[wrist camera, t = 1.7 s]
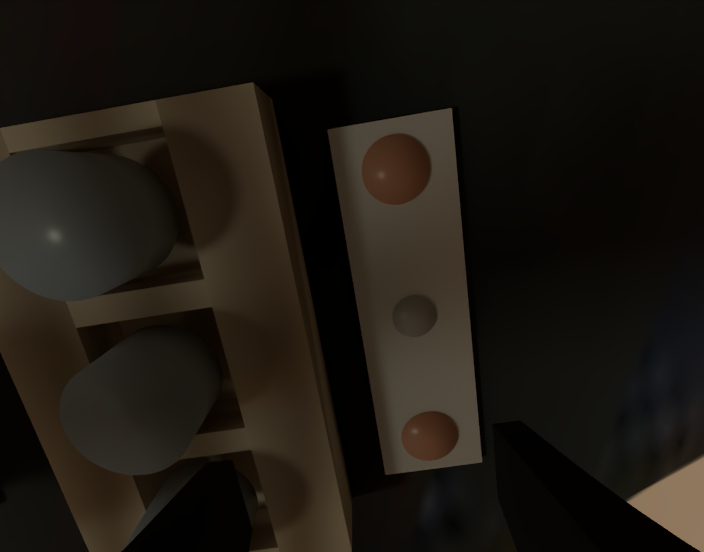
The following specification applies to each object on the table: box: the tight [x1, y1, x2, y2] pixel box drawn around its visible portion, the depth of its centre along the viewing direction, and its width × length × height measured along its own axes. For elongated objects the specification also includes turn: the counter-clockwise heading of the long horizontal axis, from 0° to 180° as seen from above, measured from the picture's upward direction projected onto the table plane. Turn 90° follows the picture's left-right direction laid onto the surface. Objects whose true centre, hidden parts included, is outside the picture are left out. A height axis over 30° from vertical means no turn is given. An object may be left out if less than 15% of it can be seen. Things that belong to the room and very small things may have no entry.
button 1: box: [124, 461, 258, 548], centre depth 16 cm, size 4×4×3 cm
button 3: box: [0, 150, 178, 301], centre depth 12 cm, size 4×4×3 cm
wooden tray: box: [0, 82, 352, 552], centre depth 17 cm, size 12×20×3 cm, turn 9°
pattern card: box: [327, 108, 482, 475], centre depth 17 cm, size 5×17×1 cm, turn 9°
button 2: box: [59, 325, 222, 475], centre depth 14 cm, size 4×4×3 cm
